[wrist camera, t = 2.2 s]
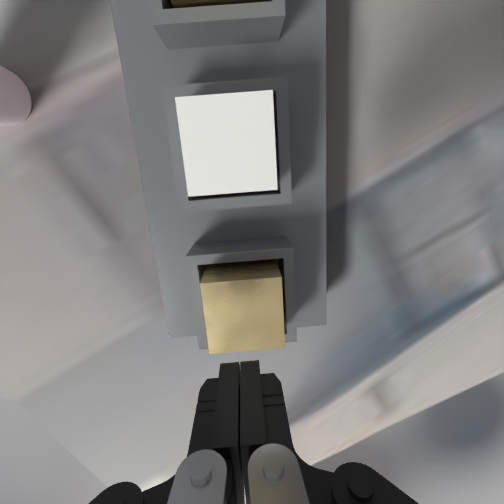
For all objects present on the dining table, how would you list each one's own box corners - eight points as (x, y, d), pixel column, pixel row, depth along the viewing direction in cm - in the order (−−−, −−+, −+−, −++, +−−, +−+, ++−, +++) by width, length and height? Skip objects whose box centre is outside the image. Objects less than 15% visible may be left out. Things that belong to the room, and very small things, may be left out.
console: (308, -66, 19) (346, -199, 12) (314, 301, 26) (338, 348, 19) (122, -53, 18) (52, -179, 12) (180, 312, 26) (158, 363, 19)
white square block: (266, 104, 16) (272, 89, 13) (271, 185, 17) (277, 189, 14) (187, 110, 16) (174, 97, 13) (197, 191, 17) (188, 196, 14)
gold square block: (275, 258, 19) (281, 276, 15) (278, 319, 20) (285, 347, 17) (206, 264, 18) (199, 283, 15) (214, 325, 20) (209, 354, 17)
